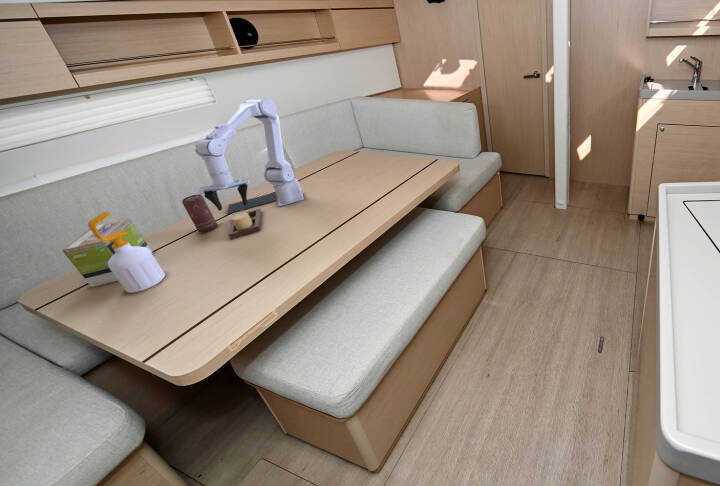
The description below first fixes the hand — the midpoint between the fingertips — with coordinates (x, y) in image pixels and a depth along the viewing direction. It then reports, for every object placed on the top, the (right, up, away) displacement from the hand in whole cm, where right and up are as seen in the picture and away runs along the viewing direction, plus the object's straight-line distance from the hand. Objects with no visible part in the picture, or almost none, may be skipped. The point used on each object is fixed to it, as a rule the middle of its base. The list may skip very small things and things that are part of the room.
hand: (233, 206), depth 130 cm
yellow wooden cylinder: (+2, -9, +4) cm, 10 cm away
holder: (0, -8, +7) cm, 11 cm away
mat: (-11, 0, +25) cm, 27 cm away
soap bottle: (-10, -22, -21) cm, 32 cm away
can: (-15, -9, +7) cm, 19 cm away
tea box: (-26, -20, -13) cm, 35 cm away
